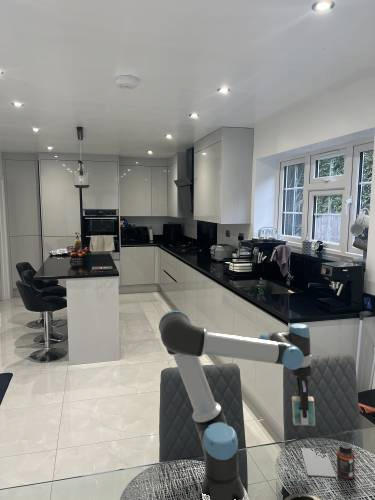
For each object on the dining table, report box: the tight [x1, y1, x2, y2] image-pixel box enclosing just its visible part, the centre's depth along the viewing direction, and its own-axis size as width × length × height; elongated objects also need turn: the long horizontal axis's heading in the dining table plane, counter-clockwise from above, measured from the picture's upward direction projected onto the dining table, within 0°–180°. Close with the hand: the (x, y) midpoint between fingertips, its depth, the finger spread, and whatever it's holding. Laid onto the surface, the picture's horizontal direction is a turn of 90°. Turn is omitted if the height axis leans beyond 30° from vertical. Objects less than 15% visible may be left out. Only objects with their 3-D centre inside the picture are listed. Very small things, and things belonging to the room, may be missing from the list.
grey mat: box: [300, 447, 337, 478], centre depth 142 cm, size 10×16×1 cm, turn 172°
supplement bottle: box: [336, 441, 356, 480], centre depth 134 cm, size 6×6×11 cm
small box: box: [291, 395, 316, 426], centre depth 143 cm, size 8×4×10 cm, turn 81°
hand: (303, 421), depth 143 cm, fingers closed on small box, 4 cm apart
